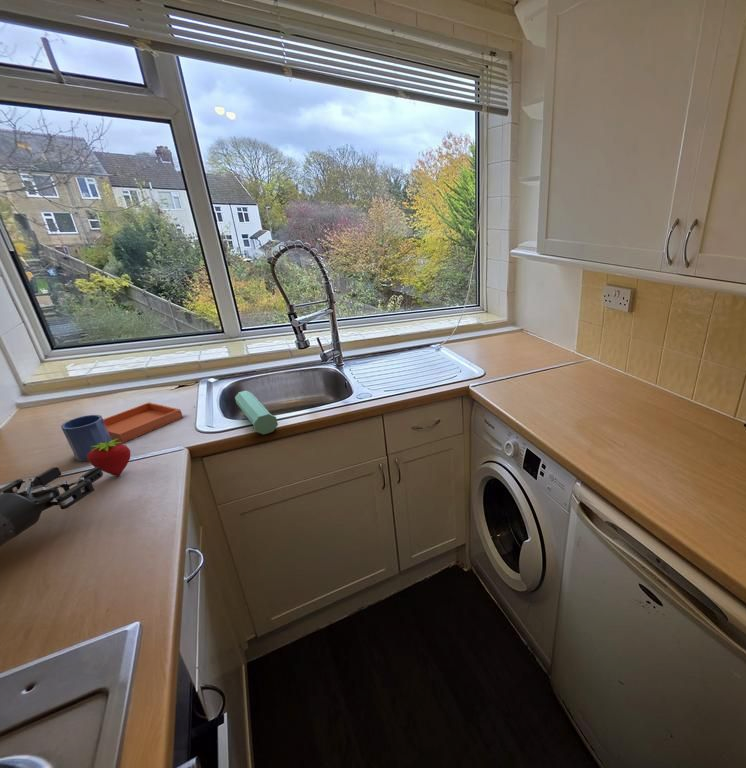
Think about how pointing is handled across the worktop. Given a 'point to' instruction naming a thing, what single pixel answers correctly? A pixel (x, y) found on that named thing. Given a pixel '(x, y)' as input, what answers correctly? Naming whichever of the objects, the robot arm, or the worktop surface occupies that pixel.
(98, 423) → the blue cup
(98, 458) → the strawberry
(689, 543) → the worktop surface
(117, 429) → the terracotta tray
